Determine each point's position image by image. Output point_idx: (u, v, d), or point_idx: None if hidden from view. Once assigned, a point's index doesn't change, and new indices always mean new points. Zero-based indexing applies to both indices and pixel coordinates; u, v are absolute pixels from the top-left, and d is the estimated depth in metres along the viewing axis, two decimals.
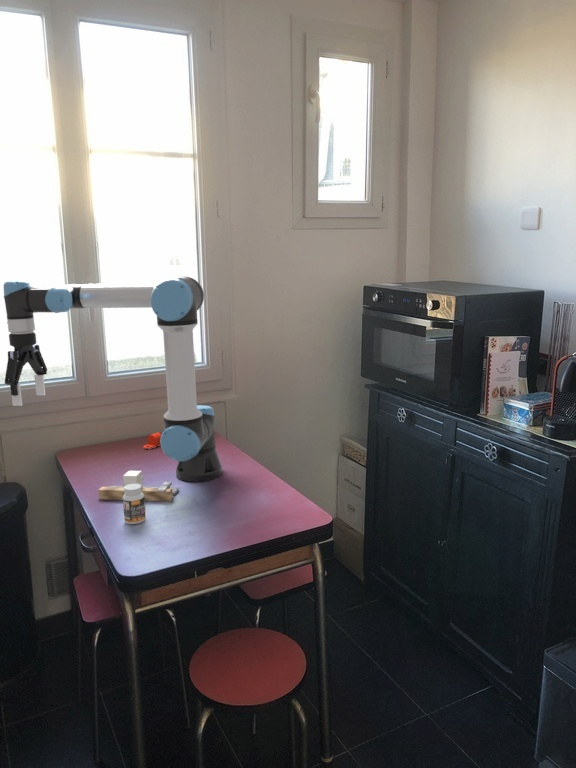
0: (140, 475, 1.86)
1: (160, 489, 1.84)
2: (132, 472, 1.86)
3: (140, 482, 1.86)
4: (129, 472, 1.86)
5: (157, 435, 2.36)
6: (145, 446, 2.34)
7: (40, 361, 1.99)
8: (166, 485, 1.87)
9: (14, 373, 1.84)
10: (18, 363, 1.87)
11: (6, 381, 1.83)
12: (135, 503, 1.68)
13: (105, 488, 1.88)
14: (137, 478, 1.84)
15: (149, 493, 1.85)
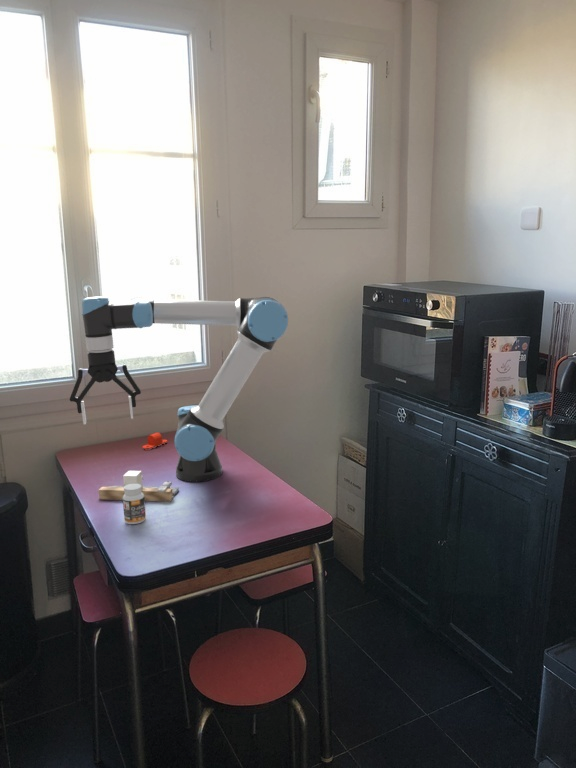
0: (140, 475, 1.86)
1: (160, 489, 1.84)
2: (132, 472, 1.86)
3: (140, 482, 1.86)
4: (129, 472, 1.86)
5: (156, 435, 2.36)
6: (144, 446, 2.34)
7: (130, 382, 1.85)
8: (166, 485, 1.87)
9: (74, 391, 1.81)
10: (89, 381, 1.82)
11: (70, 397, 1.83)
12: (135, 503, 1.68)
13: (105, 488, 1.88)
14: (137, 478, 1.84)
15: (149, 493, 1.85)
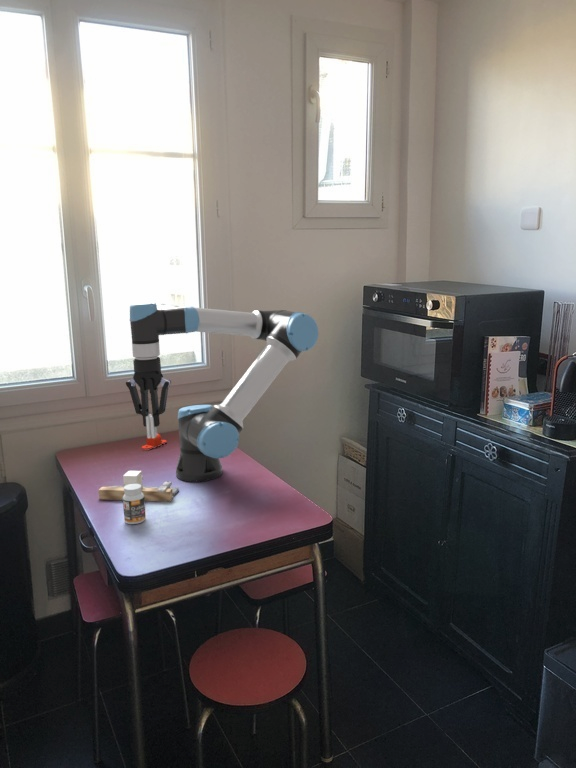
0: (140, 475, 1.86)
1: (160, 489, 1.84)
2: (132, 472, 1.86)
3: (140, 482, 1.86)
4: (129, 472, 1.86)
5: (156, 436, 2.36)
6: (144, 447, 2.34)
7: None
8: (166, 485, 1.87)
9: (135, 403, 1.79)
10: None
11: None
12: (135, 503, 1.68)
13: (105, 488, 1.88)
14: (137, 478, 1.84)
15: (149, 493, 1.85)
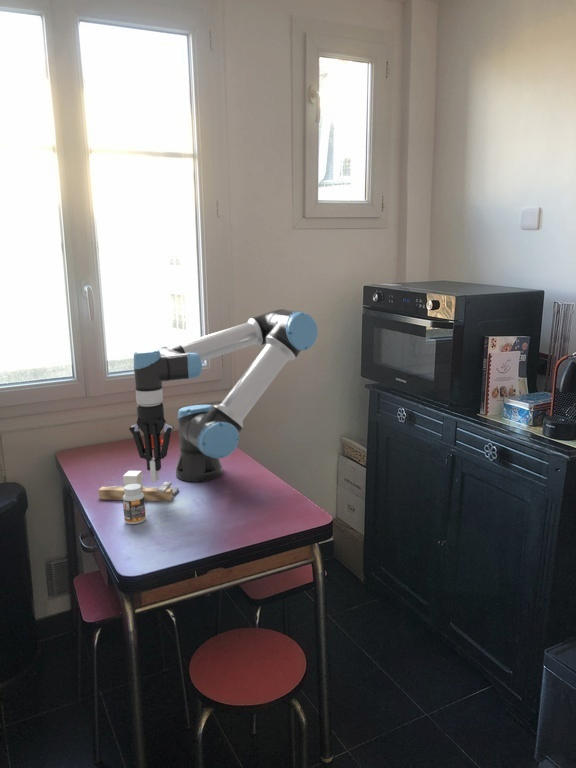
0: (140, 475, 1.86)
1: (160, 489, 1.84)
2: (132, 472, 1.86)
3: (140, 482, 1.86)
4: (129, 472, 1.86)
5: None
6: None
7: None
8: (166, 485, 1.87)
9: (139, 448, 1.82)
10: None
11: None
12: (135, 503, 1.68)
13: (105, 488, 1.88)
14: (137, 478, 1.84)
15: (149, 493, 1.85)
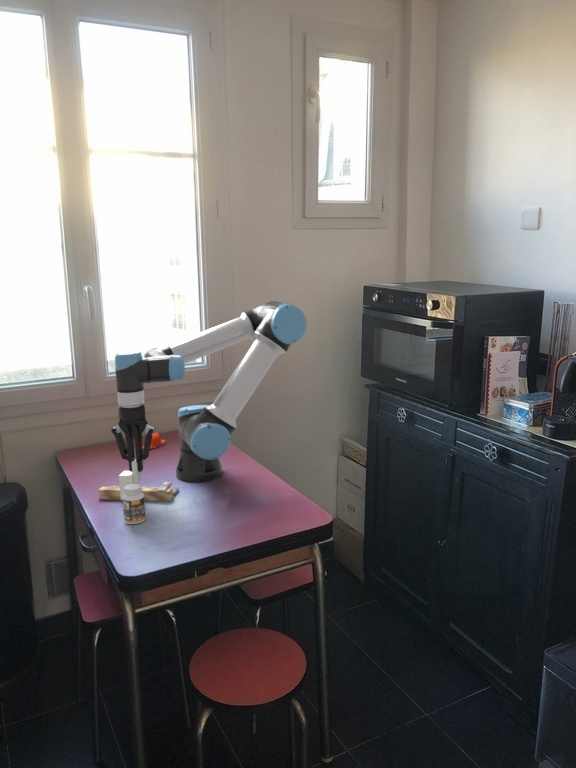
0: None
1: (160, 489, 1.84)
2: (127, 472, 1.86)
3: None
4: (125, 472, 1.86)
5: (155, 435, 2.36)
6: None
7: None
8: (166, 485, 1.87)
9: (120, 449, 1.83)
10: None
11: None
12: (135, 503, 1.68)
13: (105, 488, 1.88)
14: (132, 478, 1.84)
15: (149, 493, 1.85)
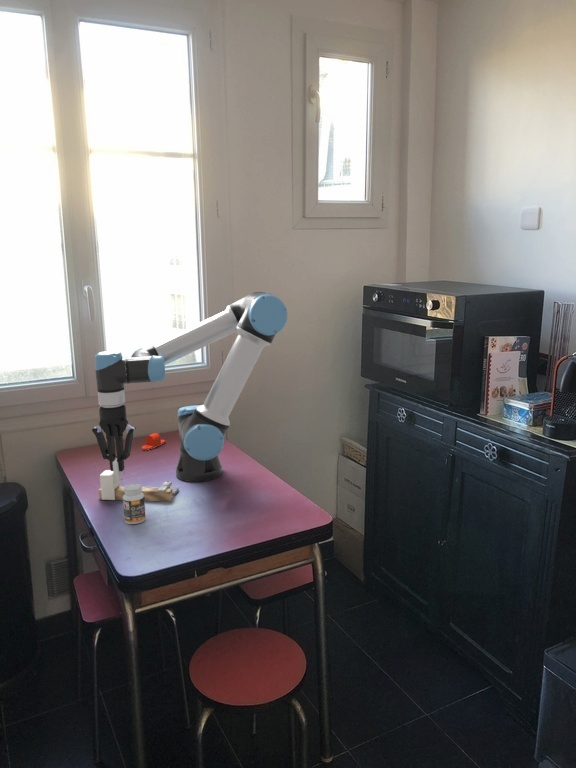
0: None
1: (160, 489, 1.84)
2: (109, 471, 1.87)
3: None
4: (106, 471, 1.87)
5: (155, 435, 2.36)
6: (144, 447, 2.33)
7: None
8: (166, 485, 1.87)
9: (101, 449, 1.84)
10: None
11: None
12: (135, 503, 1.68)
13: None
14: (113, 477, 1.85)
15: (149, 493, 1.85)
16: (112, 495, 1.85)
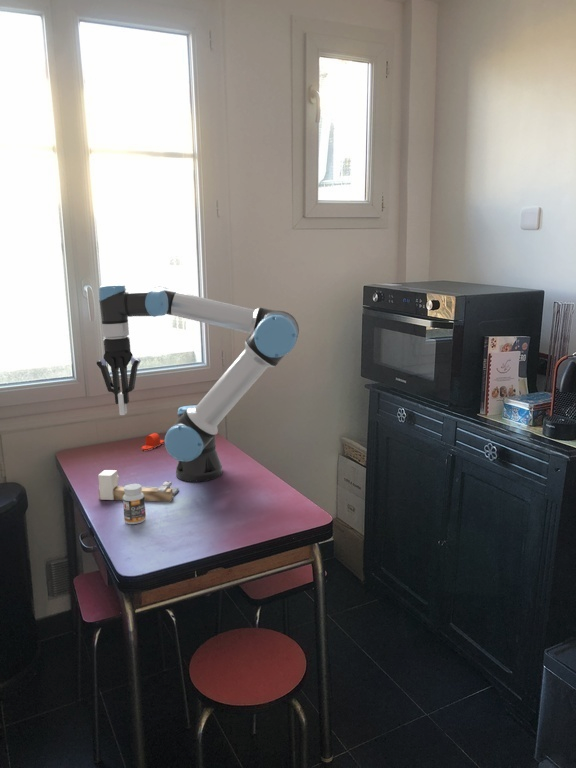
0: (115, 474, 1.87)
1: (160, 489, 1.84)
2: (107, 471, 1.87)
3: (115, 481, 1.87)
4: (104, 471, 1.87)
5: (155, 435, 2.35)
6: (144, 447, 2.33)
7: None
8: (166, 485, 1.87)
9: (106, 382, 1.87)
10: None
11: None
12: (135, 503, 1.68)
13: None
14: (112, 477, 1.85)
15: (149, 493, 1.85)
16: (111, 495, 1.85)
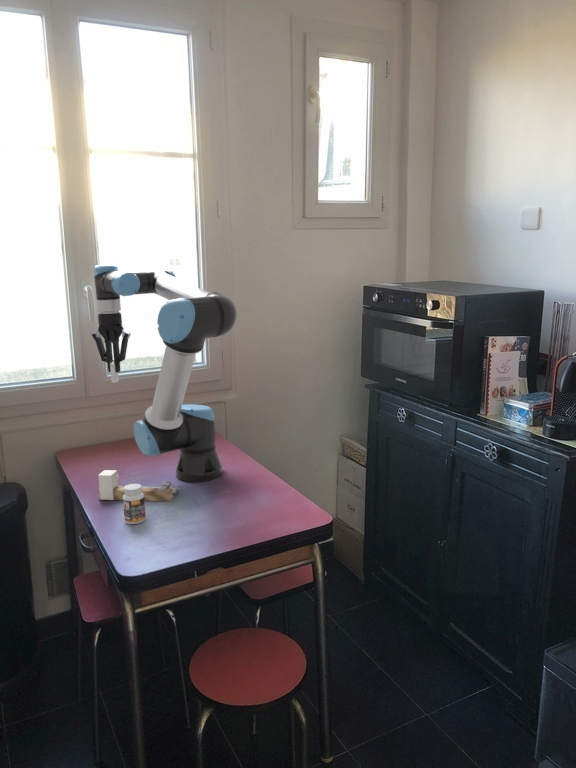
0: (115, 474, 1.87)
1: (160, 489, 1.84)
2: (107, 471, 1.87)
3: (115, 481, 1.87)
4: (104, 471, 1.87)
5: None
6: None
7: None
8: (166, 485, 1.87)
9: (100, 352, 2.09)
10: None
11: None
12: (135, 503, 1.68)
13: None
14: (112, 477, 1.85)
15: (149, 493, 1.85)
16: (111, 495, 1.85)
